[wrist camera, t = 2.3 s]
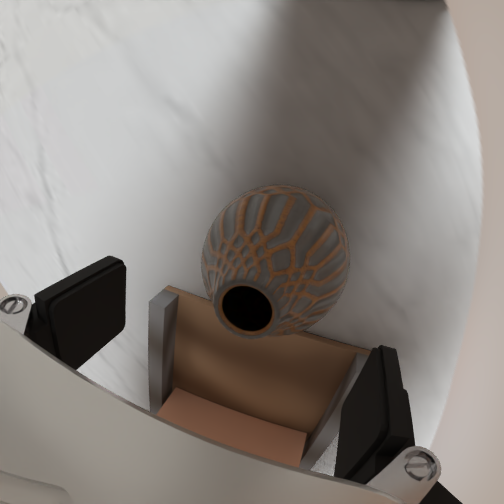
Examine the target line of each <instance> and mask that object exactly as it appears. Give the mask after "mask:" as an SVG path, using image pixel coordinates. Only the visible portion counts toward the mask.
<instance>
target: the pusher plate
mask: <svg viewBox="0 0 504 504" xmlns="http://www.w3.org/2000/svg"><path fill="white" fill-rule="evenodd" d="M156 415H157V416H159V417H161V418H163V419H166V420H168V421H170V422H172V423H174V424H177V425H179V426H181V427H183V428H186V429H188V430H190V431H193V432H195V433H198V434H200V435H202V436H205V437H207V438H210V439H212V440H215V441H218V442H220V443H223V444H226V445H228V446H231V447H234V448H237V449H240V450H242V451H245V452H248V453H251V454H255V455H258V456H261V457H264V458H267V459H271V460H274V461H277V462H281V463H284V464H287V465H291V466H294V467H298V468H299V465H300V461H301V457H302V453H303V448H304V444H305V440H306V435H307V433H305V432H301V431H297V430H294V429H290V428H287V427H283V426H280V425H277V424H273V423H270V422H267V421H264V420H261V419H258V418H255V417H252V416H249V415H246V414H243V413H240V412H237V411H235V410H232V409H229V408H226V407H224V406H221V405H218V404H216V403H213V402H211V401H208V400H206V399H203V398H201V397H198V396H196V395H193V394H191V393H189V392H186V391H184V390H182V389H179V388H177V387H176V388H175V389H174V391H173V392H172V393H171V395H170V396H169V398H168V399H167V400H166V402H165V403H164V404H163V406H162V407H161V409H160V410H159V411H158V413H157V414H156Z"/></svg>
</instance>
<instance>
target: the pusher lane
mask: <svg viewBox="0 0 504 504" xmlns="http://www.w3.org/2000/svg"><path fill="white" fill-rule="evenodd" d="M370 353H371V351H370V350H366V349H362V348H359V347H355V346H351V345H348V344H344V343H341V342H337V341H334V340H331V339H327V338H324V337H320V336H317V335H314V334H310V333H307V332H304V331H300V332H298V333H295V334H291V335H286V336H279V337H269V336H266V337H263V338H260V339H246V338H241V337H239V336H236V335H234V334H232V333H231V332H229V331H228V330H227V329H226V328H224V326H223V325H222V324H221V323H220V322H219V320H218V318H217V316H216V314H215V311H214V306H213V303H212V301H210V300H207V299H204V298H201V297H199V296H196V295H193V294H190V293H188V292H185V291H182V290H179V289H177V288H174V287H171V286H169V285H168V286H167V287H166V288H165V289H163V290H162V291H161V292H160V293H159V294H158V295H156V296H155V297H154V298H153V299H152V300H151V301H149V332H148V358H149V397H150V412H151V413H153V414H155V415H156V414H157V413H158V411H159V410H160V409H161V407H162V406H163V404H164V403H165V402H166V400H167V399H168V398H169V396H170V395H171V393H172V392H173V391H174V389H175V388H176V387H177V388H179V389H182V390H184V391H186V392H189V393H191V394H193V395H196V396H198V397H201V398H203V399H206V400H208V401H211V402H213V403H216V404H218V405H221V406H224V407H226V408H229V409H232V410H235V411H237V412H240V413H243V414H246V415H249V416H252V417H255V418H258V419H261V420H264V421H267V422H270V423H273V424H277V425H280V426H283V427H287V428H290V429H294V430H297V431H301V432H305V433H307V435H306V440H305V444H304V448H303V453H302V457H301V461H300V465H299V468H302V469H306V470H310V469H311V468H312V467H313V466H314V464H315V463H316V462H317V460H318V459H319V458H320V457H321V455H322V454H323V453H324V451H325V450H326V449H327V447H328V446H329V444H330V443H331V442H332V440H333V439H334V438H335V436H336V435H337V433H338V432H339V429H340V419H341V409H342V405H343V403H344V401H345V399H346V397H347V396H348V394H349V392H350V390H351V388H352V387H353V385H354V383H355V381H356V379H357V378H358V376H359V374H360V372H361V370H362V368H363V366H364V364H365V362H366V360H367V359H368V357H369V355H370Z"/></svg>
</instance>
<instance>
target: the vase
mask: <svg viewBox="0 0 504 504" xmlns="http://www.w3.org/2000/svg"><path fill="white" fill-rule="evenodd" d="M349 264H350V252H349V244H348V239H347V236H346V232H345V230H344V227H343V225H342V223H341V221H340V219H339V218H338V216H337V215H336V213H335V212H334V211H333V209H332V208H331V207H330V206H329V205H328V204H327V203H326V202H325V201H323V200H322V199H321V198H319V197H318V196H316V195H315V194H313V193H311V192H309V191H307V190H304V189H302V188H299V187H295V186H289V185H270V186H264V187H260V188H257V189H254V190H251V191H249V192H247V193H245V194H243V195H241V196H239V197H238V198H236V199H235V200H233V201H232V202H231V203H229V204H228V205H227V206H226V207H225V208H224V209H223V210H222V212H221V213H220V214H219V215H218V216H217V218H216V219H215V221H214V222H213V224H212V226H211V228H210V230H209V232H208V234H207V237H206V240H205V243H204V247H203V252H202V262H201V269H202V277H203V282H204V285H205V288H206V291H207V294H208V296H209V298H210V300H211V301H212V303H213V306H214V311H215V314H216V316H217V318H218V320H219V322H220V323H221V324H222V325H223V326H224V328H226V329H227V330H228V331H229V332H231V333H232V334H234V335H236V336H239V337H241V338H246V339H260V338H263V337H266V336H269V337H279V336H286V335H291V334H295V333H298V332H300V331H303V330H305V329H307V328H309V327H310V326H312V325H314V324H315V323H317V322H318V321H319V320H320V319H322V318H323V317H324V316H325V315H326V314H327V313H328V312H329V311H330V309H331V308H332V307H333V306H334V304H335V303H336V301H337V300H338V298H339V297H340V295H341V293H342V291H343V289H344V286H345V284H346V281H347V277H348V272H349Z"/></svg>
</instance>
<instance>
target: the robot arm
mask: <svg viewBox="0 0 504 504" xmlns="http://www.w3.org/2000/svg"><path fill="white" fill-rule="evenodd" d="M34 297H35V303H34V304H32V302H31V300H30V299H29V298H28V297H27V296H24V295H20V294H12V295H8V296H5V297H3V298H2V299H0V504H462V503H461V502H460V501H459V500H458V499H457V498H455V497H454V496H453V495H452V494H451V493H450V492H449V491H448V490H447V489H446V488H445V487H444V486H442V485H441V484H440V483H439V482H438V481H437V480H438V479H439V477H440V475H441V465H440V462H439V460H438V459H437V457H436V456H435V455H434V454H433V453H432V452H431V451H430V450H428V449H426V448H423V447H420V446H415V440H414V432H413V424H412V417H411V411H410V404H409V398H408V393H407V391H406V390H405V389H403V384H402V378H401V372H400V367H399V361H398V356H397V351H396V349H394V348H390V347H386V346H383V345H380V346H379V347H378V349H377V348H373V349H372V351H371V353H370V355H369V357H368V359H367V360H366V362H365V364H364V366H363V368H362V370H361V372H360V374H359V376H358V378H357V379H356V381H355V383H354V385H353V387H352V388H351V390H350V392H349V394H348V396H347V397H346V399H345V401H344V403H343V405H342V409H341V419H340V429H339V439H338V448H337V456H336V464H335V472H334V476H330V475H326V474H322V473H318V472H314V471H310V470H306V469H302V468H298V467H294V466H291V465H287V464H284V463H281V462H277V461H274V460H271V459H267V458H264V457H261V456H258V455H255V454H251V453H248V452H245V451H242V450H240V449H237V448H234V447H231V446H228V445H226V444H223V443H220V442H218V441H215V440H212V439H210V438H207V437H205V436H202V435H200V434H198V433H195V432H193V431H190V430H188V429H186V428H183V427H181V426H179V425H177V424H174V423H172V422H170V421H168V420H166V419H163V418H161V417H159V416H157V415H155V414H153V413H151V412H149V411H147V410H145V409H143V408H141V407H139V406H137V405H135V404H133V403H131V402H129V401H128V400H126V399H124V398H122V397H120V396H118V395H116V394H115V393H113V392H111V391H109V390H108V389H106V388H104V387H102V386H101V385H99V384H97V383H96V382H94V381H92V380H91V379H89V378H87V377H86V376H84V375H82V374H81V373H79V372H78V371H76V370H77V369H78V368H79V367H80V366H82V365H83V364H84V363H85V362H86V361H87V360H89V359H90V358H91V357H92V356H93V355H94V354H96V353H97V352H98V351H99V350H100V349H101V348H103V347H104V346H105V345H106V344H107V343H108V342H110V341H111V340H112V339H113V338H114V337H115V336H117V335H118V334H119V333H120V332H121V331H122V330H123V329H124V327H125V304H126V266H125V265H124V262H123V261H122V260H120V259H118V258H115V257H113V256H107V257H105V258H103V259H101V260H99V261H97V262H95V263H93V264H91V265H89V266H87V267H85V268H83V269H81V270H79V271H78V272H76V273H74V274H72V275H70V276H68V277H66V278H64V279H62V280H60V281H59V282H57V283H55V284H53V285H51V286H49V287H47V288H46V289H44V290H42V291H40V292H38V293H36V294H35V295H34Z"/></svg>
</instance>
